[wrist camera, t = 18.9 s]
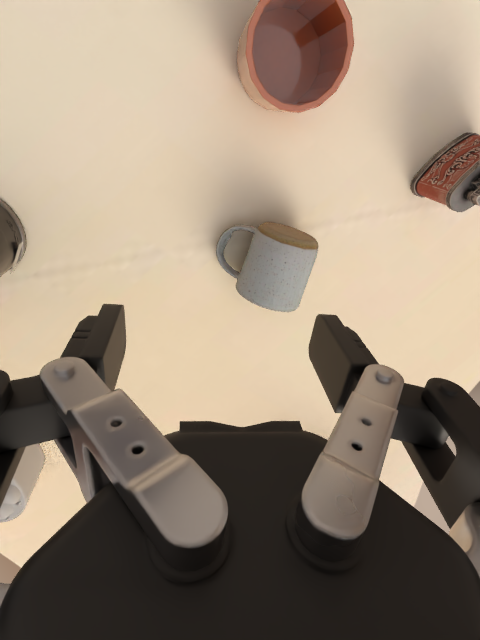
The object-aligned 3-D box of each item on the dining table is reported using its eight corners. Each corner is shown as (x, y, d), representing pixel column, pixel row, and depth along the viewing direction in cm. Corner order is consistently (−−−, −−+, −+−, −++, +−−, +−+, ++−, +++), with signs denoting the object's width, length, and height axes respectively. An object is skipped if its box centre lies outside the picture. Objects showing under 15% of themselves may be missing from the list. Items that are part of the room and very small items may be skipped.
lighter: (418, 202, 42) (476, 227, 33) (404, 181, 40) (460, 201, 32) (481, 149, 39) (561, 161, 31) (469, 124, 38) (548, 129, 29)
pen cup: (232, 104, 35) (240, 104, 28) (242, -6, 30) (254, -37, 24) (312, 116, 36) (337, 118, 29) (333, 11, 32) (367, -14, 25)
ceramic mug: (312, 229, 42) (332, 251, 35) (289, 290, 46) (304, 320, 39) (225, 206, 40) (229, 225, 33) (209, 272, 43) (210, 301, 37)
